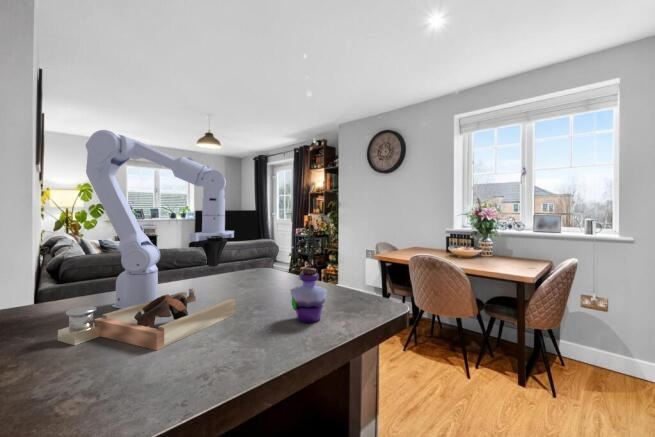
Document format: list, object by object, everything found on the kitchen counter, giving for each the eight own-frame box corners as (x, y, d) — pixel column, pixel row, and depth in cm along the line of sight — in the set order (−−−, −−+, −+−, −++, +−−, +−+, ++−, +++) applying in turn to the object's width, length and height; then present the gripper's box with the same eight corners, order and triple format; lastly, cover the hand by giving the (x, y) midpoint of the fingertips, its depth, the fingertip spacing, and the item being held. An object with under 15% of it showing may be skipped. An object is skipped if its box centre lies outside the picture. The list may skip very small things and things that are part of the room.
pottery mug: (185, 341, 60) (160, 307, 57) (143, 360, 60) (118, 327, 58) (206, 307, 71) (187, 278, 69) (171, 323, 72) (151, 295, 70)
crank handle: (176, 307, 79) (176, 293, 79) (172, 306, 80) (172, 293, 80) (195, 301, 85) (195, 288, 85) (191, 300, 85) (191, 288, 85)
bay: (94, 334, 61) (94, 316, 61) (182, 305, 81) (182, 291, 81) (156, 350, 54) (157, 330, 54) (235, 314, 74) (235, 299, 74)
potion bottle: (282, 319, 71) (282, 267, 71) (309, 311, 78) (309, 263, 78) (307, 329, 66) (308, 273, 65) (334, 319, 72) (335, 268, 72)
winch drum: (57, 340, 58) (58, 311, 57) (87, 331, 62) (87, 304, 62) (74, 345, 56) (74, 315, 56) (103, 335, 60) (103, 307, 60)
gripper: (205, 216, 75) (204, 272, 75) (242, 215, 88) (242, 263, 88) (183, 215, 77) (182, 269, 77) (223, 215, 91) (222, 261, 91)
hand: (213, 266), depth 83 cm, fingers closed
